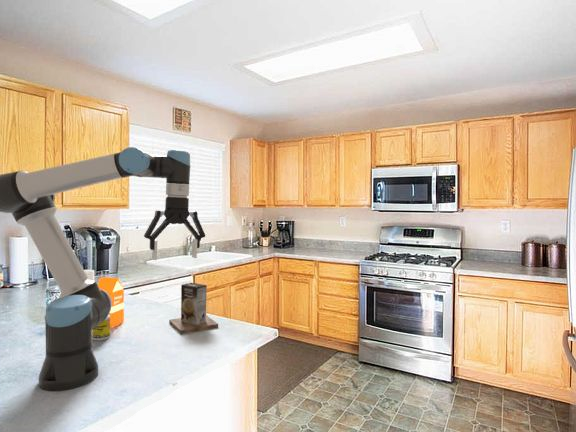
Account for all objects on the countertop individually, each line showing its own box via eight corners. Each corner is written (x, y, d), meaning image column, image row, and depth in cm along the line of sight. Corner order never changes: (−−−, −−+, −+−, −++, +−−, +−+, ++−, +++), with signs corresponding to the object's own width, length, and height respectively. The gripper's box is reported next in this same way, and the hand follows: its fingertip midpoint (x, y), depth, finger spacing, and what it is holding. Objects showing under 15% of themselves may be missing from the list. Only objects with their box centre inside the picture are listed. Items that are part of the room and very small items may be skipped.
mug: (70, 288, 219) (70, 271, 219) (92, 286, 227) (92, 269, 227) (73, 291, 213) (73, 273, 212) (96, 288, 221) (96, 271, 220)
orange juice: (112, 327, 153) (112, 279, 152) (93, 325, 154) (93, 278, 154) (124, 321, 160) (124, 276, 160) (106, 320, 162) (106, 275, 161)
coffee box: (180, 322, 156) (180, 284, 155) (191, 318, 161) (191, 282, 161) (196, 325, 151) (196, 287, 151) (206, 321, 157) (207, 284, 156)
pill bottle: (90, 341, 137) (90, 312, 136) (94, 335, 142) (94, 307, 142) (108, 340, 138) (108, 311, 138) (111, 334, 144) (111, 306, 144)
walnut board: (180, 334, 145) (180, 330, 145) (169, 323, 159) (169, 319, 159) (218, 327, 154) (218, 323, 154) (204, 317, 167) (204, 314, 167)
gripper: (141, 195, 113) (138, 262, 115) (216, 198, 127) (213, 258, 129) (136, 194, 120) (133, 258, 121) (208, 197, 134) (205, 254, 135)
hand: (174, 258), depth 125 cm, fingers open, 13 cm apart
